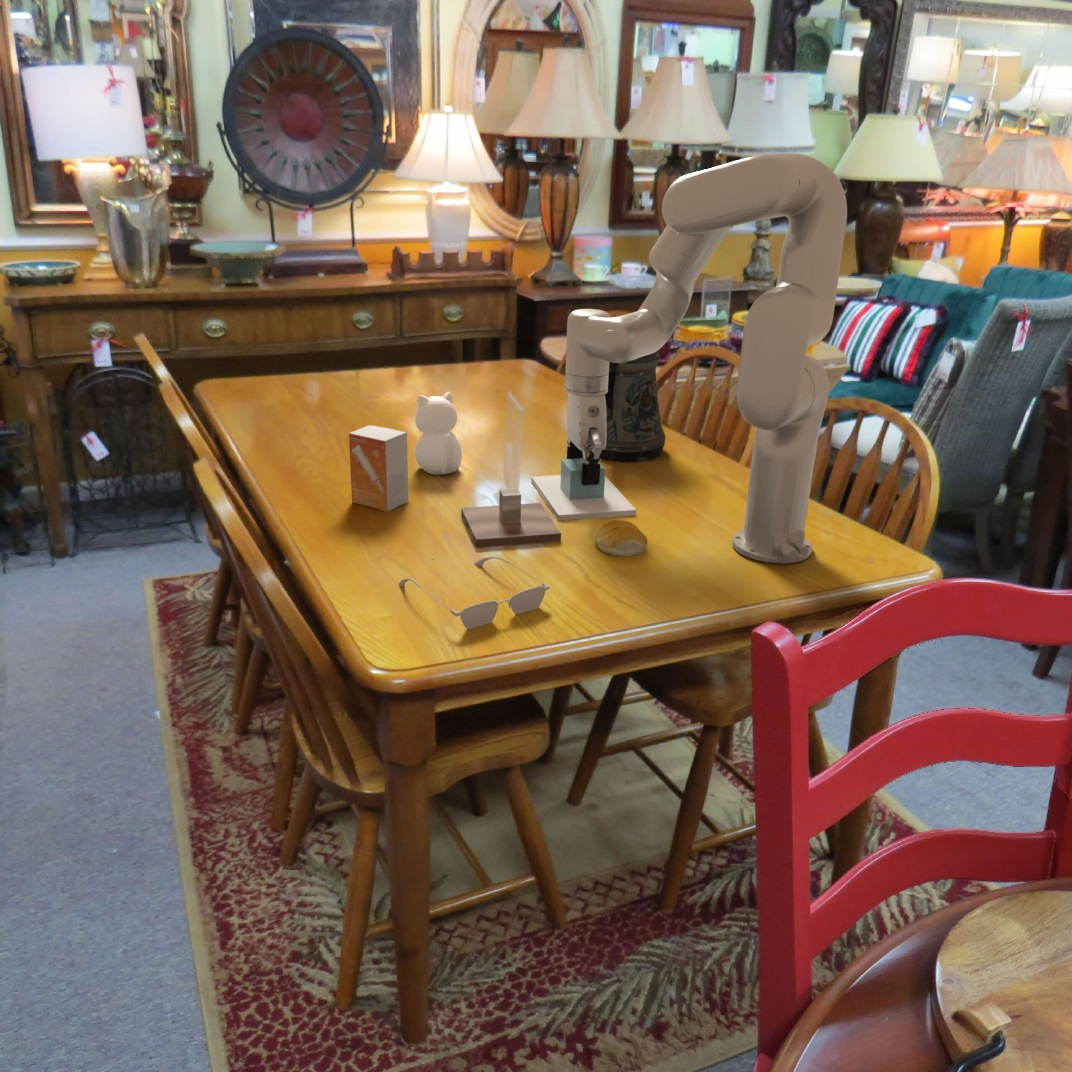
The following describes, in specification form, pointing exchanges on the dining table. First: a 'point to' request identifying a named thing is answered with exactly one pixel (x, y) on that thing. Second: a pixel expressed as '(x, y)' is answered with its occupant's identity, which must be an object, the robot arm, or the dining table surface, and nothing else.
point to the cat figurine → (437, 435)
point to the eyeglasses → (488, 609)
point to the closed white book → (582, 501)
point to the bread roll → (620, 538)
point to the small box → (379, 467)
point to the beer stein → (633, 412)
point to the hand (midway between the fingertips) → (582, 475)
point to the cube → (579, 481)
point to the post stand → (510, 522)
